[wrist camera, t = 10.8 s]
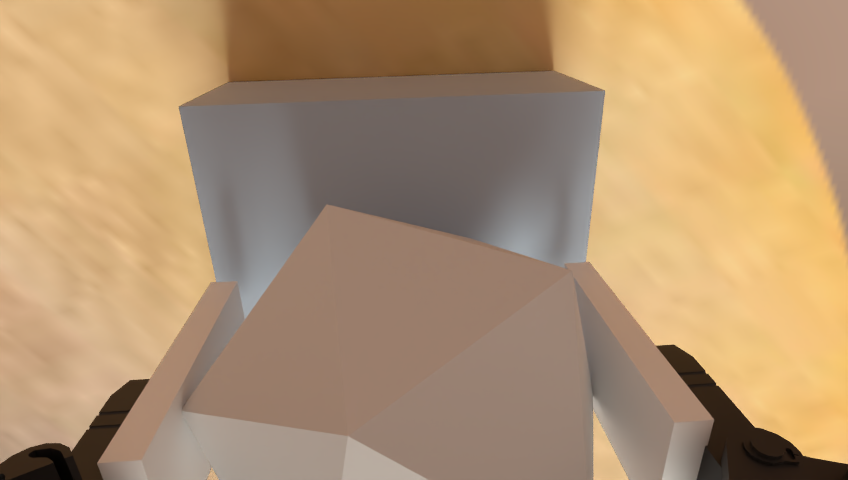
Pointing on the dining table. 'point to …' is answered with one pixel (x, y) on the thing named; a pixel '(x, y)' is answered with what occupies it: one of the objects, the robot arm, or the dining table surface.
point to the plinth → (394, 162)
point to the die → (401, 364)
